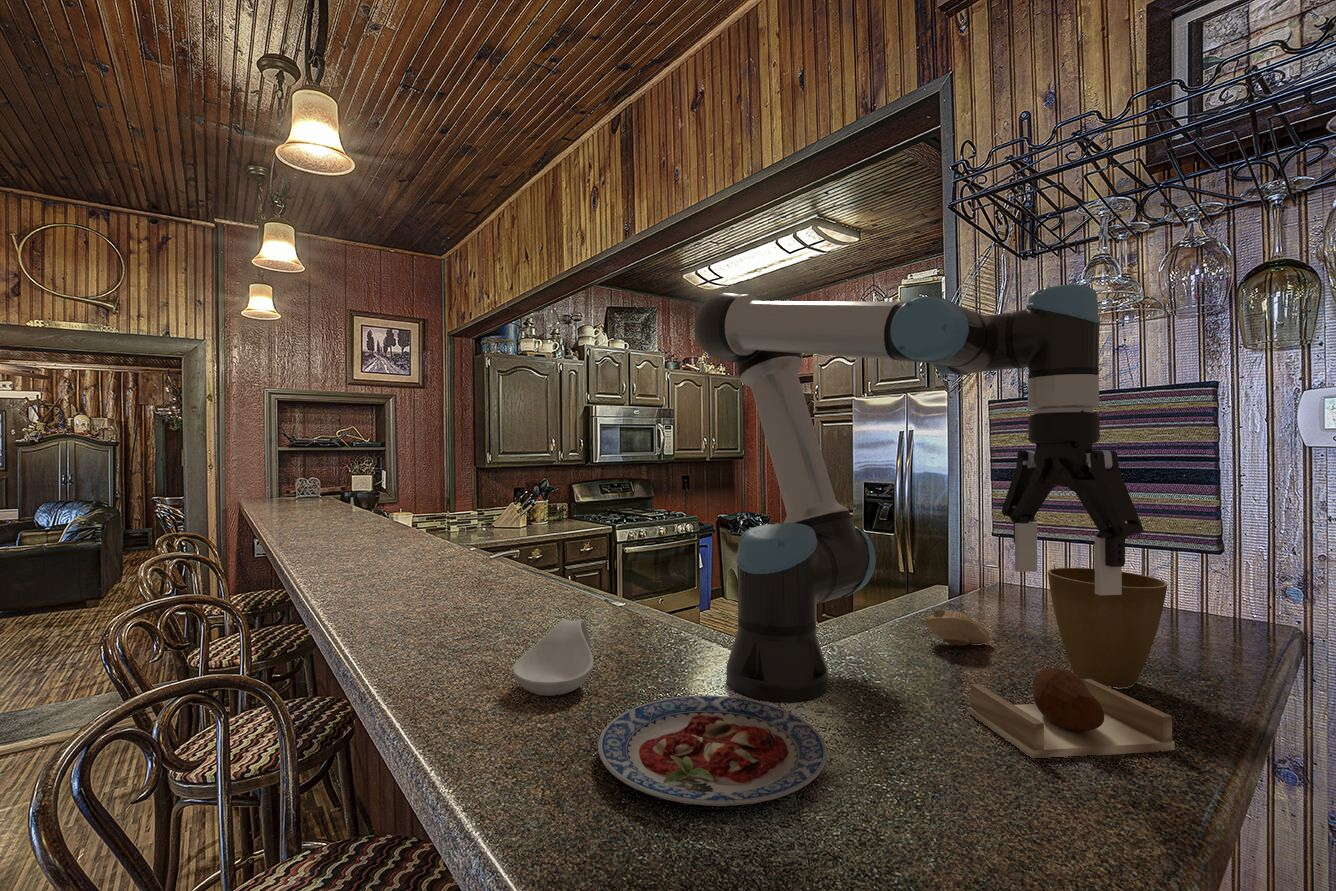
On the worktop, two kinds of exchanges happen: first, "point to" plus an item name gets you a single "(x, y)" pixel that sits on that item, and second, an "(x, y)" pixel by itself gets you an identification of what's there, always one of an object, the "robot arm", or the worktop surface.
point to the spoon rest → (556, 660)
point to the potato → (1066, 700)
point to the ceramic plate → (712, 750)
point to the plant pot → (1106, 623)
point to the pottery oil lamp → (956, 628)
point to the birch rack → (1038, 736)
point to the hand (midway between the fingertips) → (1063, 582)
